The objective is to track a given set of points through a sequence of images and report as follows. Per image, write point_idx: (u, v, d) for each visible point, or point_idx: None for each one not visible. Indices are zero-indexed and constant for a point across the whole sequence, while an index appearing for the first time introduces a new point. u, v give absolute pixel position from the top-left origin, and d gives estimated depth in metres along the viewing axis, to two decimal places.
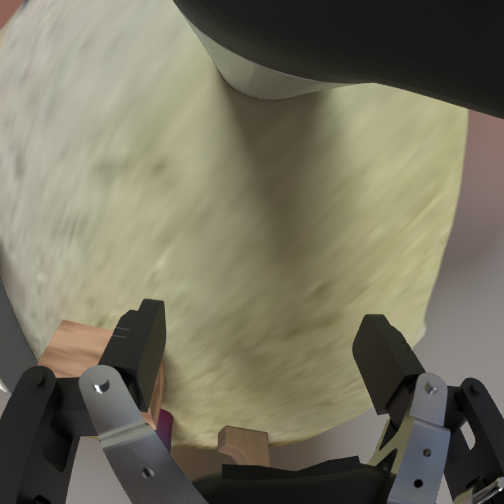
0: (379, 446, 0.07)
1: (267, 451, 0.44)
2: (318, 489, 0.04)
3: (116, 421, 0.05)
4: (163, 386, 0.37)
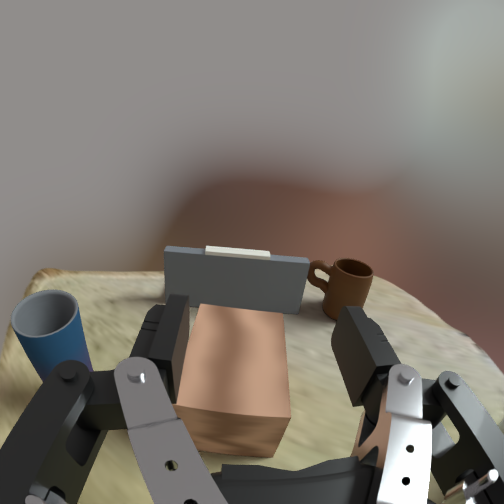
0: (358, 442, 0.07)
1: None
2: (318, 489, 0.04)
3: (147, 412, 0.05)
4: None
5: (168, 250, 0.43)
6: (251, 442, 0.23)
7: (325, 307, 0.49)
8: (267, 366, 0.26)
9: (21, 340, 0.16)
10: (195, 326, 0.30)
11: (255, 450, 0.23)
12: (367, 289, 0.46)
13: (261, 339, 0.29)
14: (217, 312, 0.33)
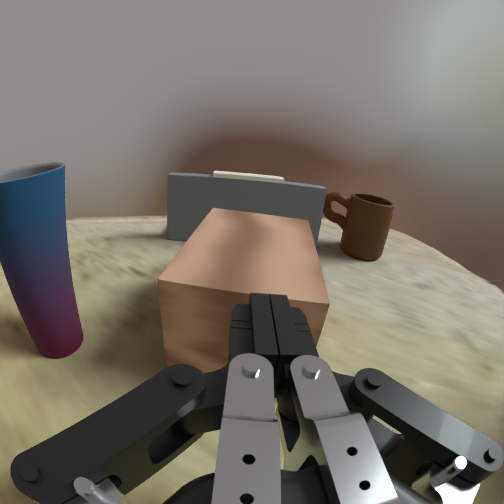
0: (285, 446, 0.07)
1: None
2: (318, 489, 0.04)
3: (247, 407, 0.06)
4: None
5: (173, 174, 0.39)
6: None
7: (344, 244, 0.45)
8: (292, 254, 0.21)
9: None
10: (205, 221, 0.26)
11: None
12: (389, 221, 0.41)
13: (284, 234, 0.25)
14: (232, 214, 0.28)
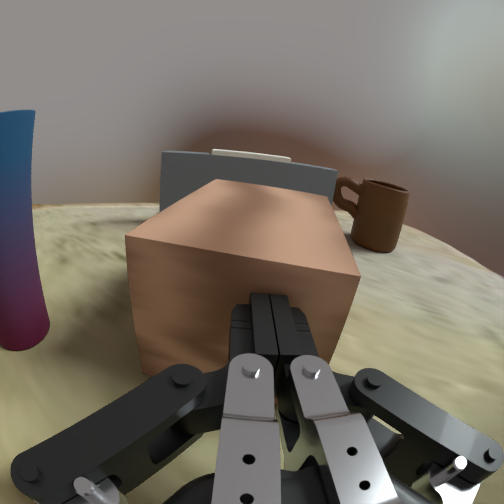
0: (285, 446, 0.07)
1: None
2: (318, 489, 0.04)
3: (247, 407, 0.06)
4: (152, 359, 0.14)
5: (167, 151, 0.34)
6: None
7: (356, 234, 0.40)
8: (308, 222, 0.16)
9: None
10: (203, 188, 0.21)
11: None
12: (404, 209, 0.36)
13: (298, 204, 0.20)
14: (237, 184, 0.24)
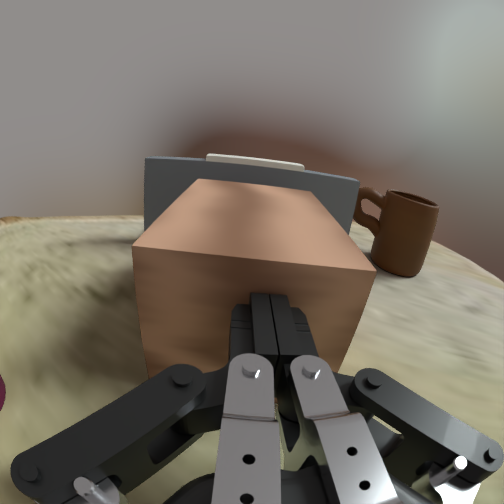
0: (285, 446, 0.07)
1: None
2: (318, 489, 0.04)
3: (247, 407, 0.06)
4: None
5: (152, 158, 0.27)
6: None
7: (377, 255, 0.33)
8: (307, 219, 0.16)
9: None
10: (190, 189, 0.20)
11: None
12: (434, 226, 0.29)
13: (289, 202, 0.20)
14: (221, 183, 0.23)
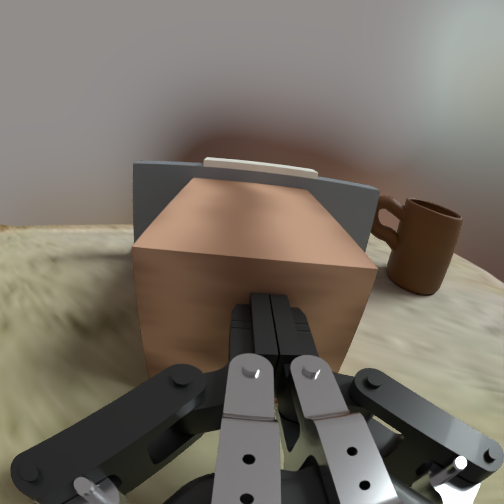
0: (285, 446, 0.07)
1: None
2: (318, 489, 0.04)
3: (247, 407, 0.06)
4: None
5: (141, 163, 0.24)
6: None
7: (395, 272, 0.29)
8: (306, 218, 0.16)
9: None
10: (186, 188, 0.20)
11: None
12: (456, 240, 0.25)
13: (286, 200, 0.20)
14: (217, 182, 0.23)
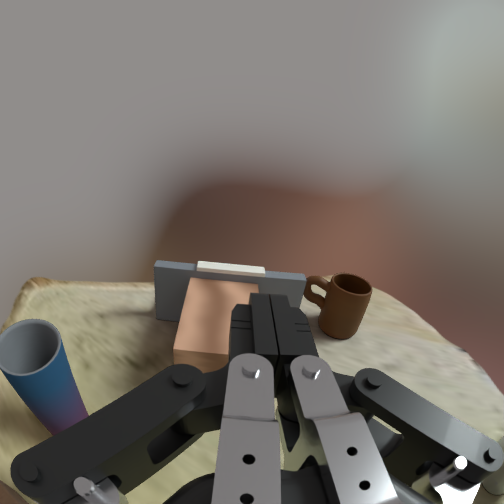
0: (285, 446, 0.07)
1: None
2: (318, 489, 0.04)
3: (247, 407, 0.06)
4: None
5: (158, 265, 0.41)
6: None
7: (321, 323, 0.47)
8: None
9: (5, 375, 0.14)
10: (188, 294, 0.38)
11: None
12: (365, 306, 0.44)
13: (241, 302, 0.38)
14: (204, 283, 0.41)
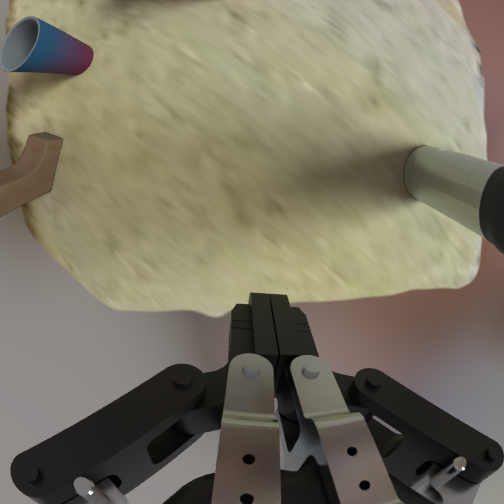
0: (285, 446, 0.07)
1: (36, 196, 0.32)
2: (318, 489, 0.04)
3: (247, 406, 0.06)
4: None
5: None
6: None
7: None
8: None
9: (12, 71, 0.17)
10: None
11: None
12: None
13: None
14: None
